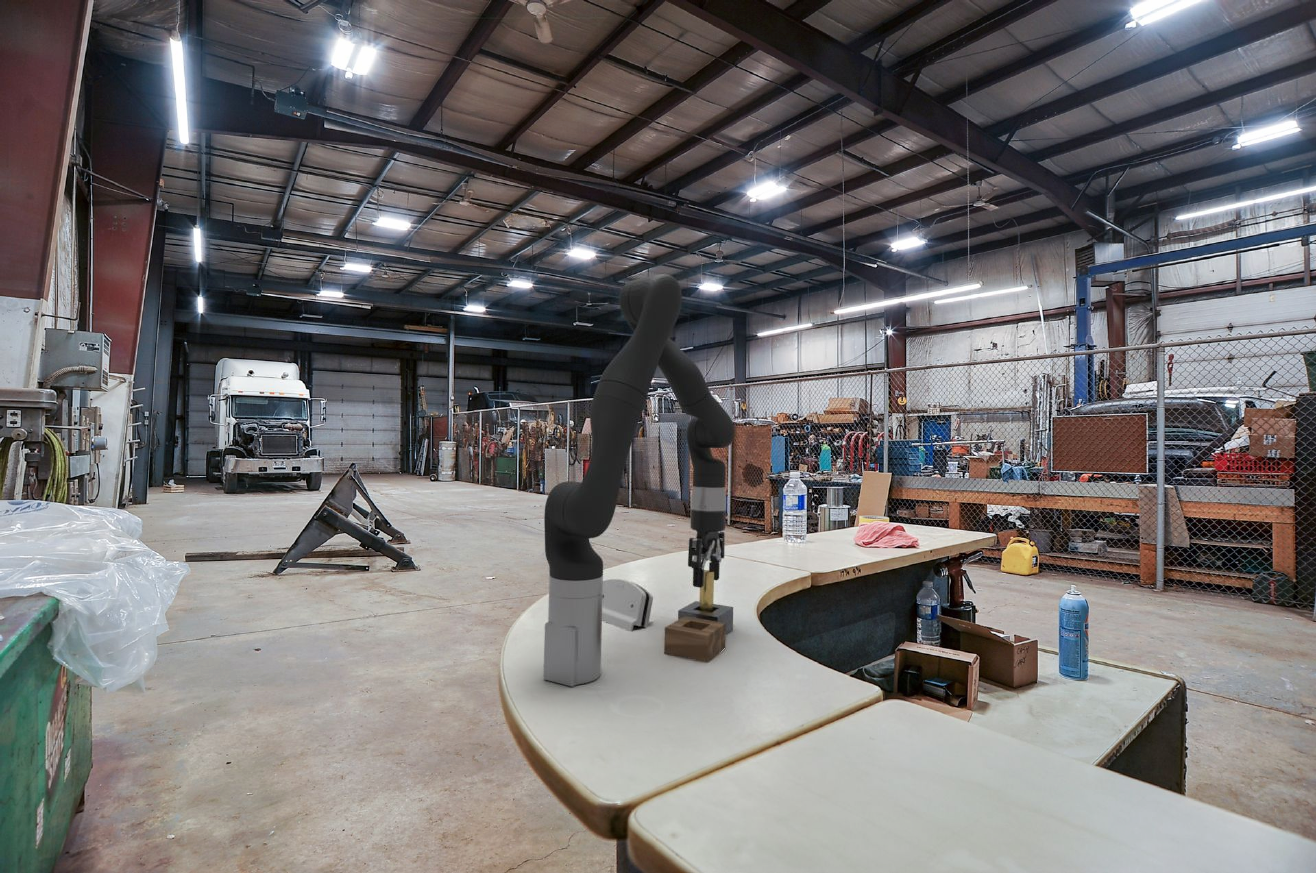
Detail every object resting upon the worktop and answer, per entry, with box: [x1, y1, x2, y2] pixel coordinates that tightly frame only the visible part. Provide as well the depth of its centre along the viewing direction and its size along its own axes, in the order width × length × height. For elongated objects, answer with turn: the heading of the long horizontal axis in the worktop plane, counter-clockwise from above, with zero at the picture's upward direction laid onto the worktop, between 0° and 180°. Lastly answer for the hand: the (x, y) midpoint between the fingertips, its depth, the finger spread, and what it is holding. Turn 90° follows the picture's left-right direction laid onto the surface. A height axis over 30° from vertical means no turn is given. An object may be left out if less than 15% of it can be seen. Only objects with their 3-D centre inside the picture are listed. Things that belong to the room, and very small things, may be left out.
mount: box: [663, 616, 727, 663], centre depth 117 cm, size 9×9×5 cm
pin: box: [698, 569, 715, 613], centre depth 129 cm, size 3×3×13 cm
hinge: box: [602, 578, 654, 632], centre depth 137 cm, size 17×5×10 cm, turn 43°
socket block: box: [677, 600, 734, 636], centre depth 129 cm, size 9×9×5 cm
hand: (706, 583), depth 129 cm, fingers open, 8 cm apart
